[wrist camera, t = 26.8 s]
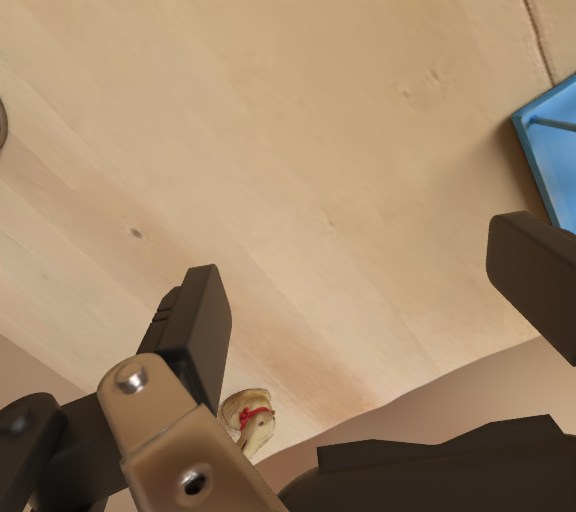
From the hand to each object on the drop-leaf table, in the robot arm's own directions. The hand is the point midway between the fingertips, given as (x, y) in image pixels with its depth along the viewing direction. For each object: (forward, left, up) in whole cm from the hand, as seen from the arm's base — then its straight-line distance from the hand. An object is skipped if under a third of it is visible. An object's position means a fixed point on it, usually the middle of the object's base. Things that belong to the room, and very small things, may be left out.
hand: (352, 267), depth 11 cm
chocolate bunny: (+10, -38, -28) cm, 48 cm away
